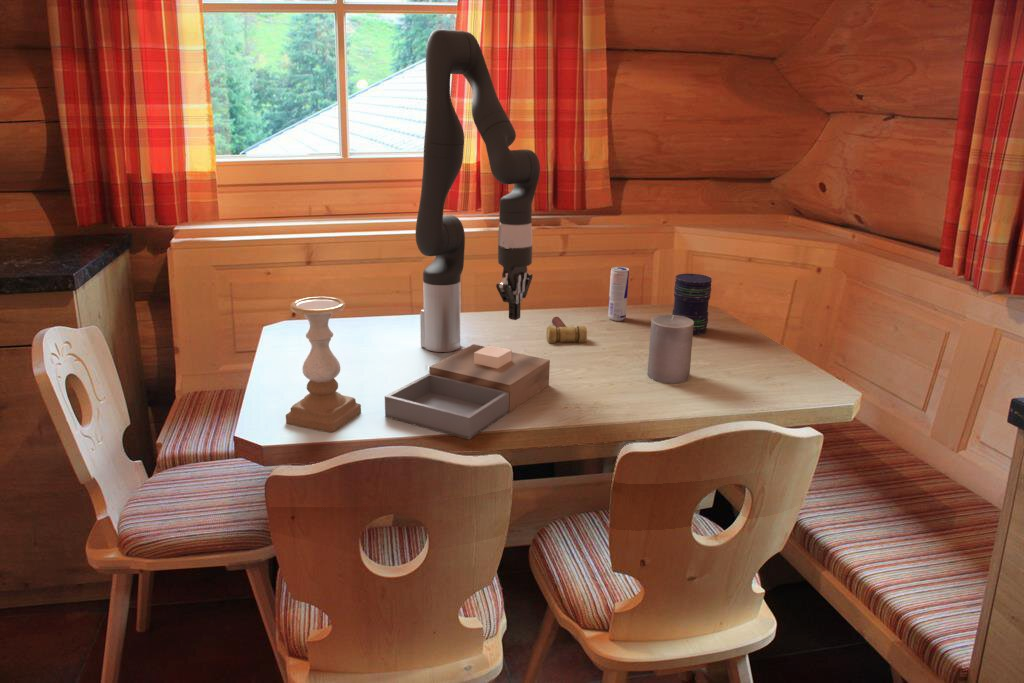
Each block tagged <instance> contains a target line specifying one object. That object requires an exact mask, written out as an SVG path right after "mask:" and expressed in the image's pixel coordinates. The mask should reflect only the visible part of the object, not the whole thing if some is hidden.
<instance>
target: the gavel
mask: <svg viewBox="0 0 1024 683" xmlns="http://www.w3.org/2000/svg"><path fill="white" fill-rule="evenodd" d="M551 323H552V325H548V326H547V327H546V336H545V337H546V341H547V343H548V344H556V343H557V342H558V343H575V342H577V343H581V344H582V343H586V342H587V338H588V333H587V332H588V330H587V326H586V325H581V324H580V325H577V326H567V325H566V324H565V323H564V321H562V319H561V318H560V317H559V316H555V317H553V318H552V319H551Z"/></svg>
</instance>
